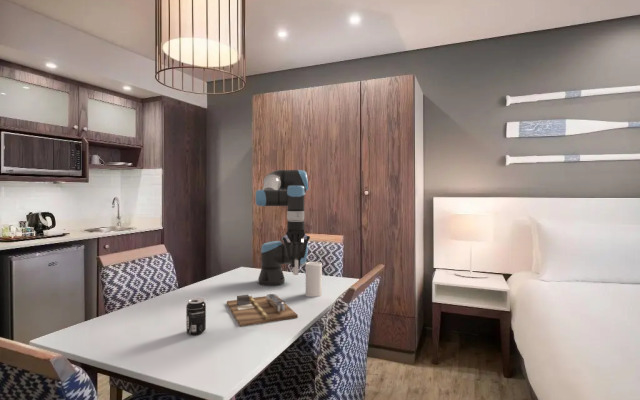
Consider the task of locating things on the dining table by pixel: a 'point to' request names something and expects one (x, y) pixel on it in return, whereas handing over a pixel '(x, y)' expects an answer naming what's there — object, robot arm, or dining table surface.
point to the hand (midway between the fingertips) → (295, 274)
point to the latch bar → (275, 302)
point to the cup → (313, 279)
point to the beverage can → (196, 316)
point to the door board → (257, 310)
